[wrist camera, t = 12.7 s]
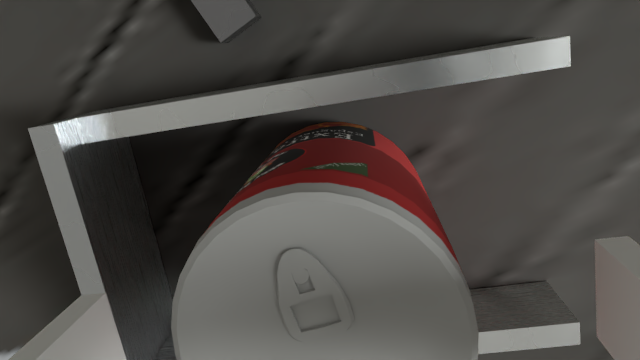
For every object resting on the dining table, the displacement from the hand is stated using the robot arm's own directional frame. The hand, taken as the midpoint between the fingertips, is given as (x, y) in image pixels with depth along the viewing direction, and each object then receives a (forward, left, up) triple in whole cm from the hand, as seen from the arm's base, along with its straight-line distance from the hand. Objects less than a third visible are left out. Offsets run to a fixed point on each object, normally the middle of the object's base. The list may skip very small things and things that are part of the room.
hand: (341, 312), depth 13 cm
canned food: (0, 0, -10) cm, 10 cm away
